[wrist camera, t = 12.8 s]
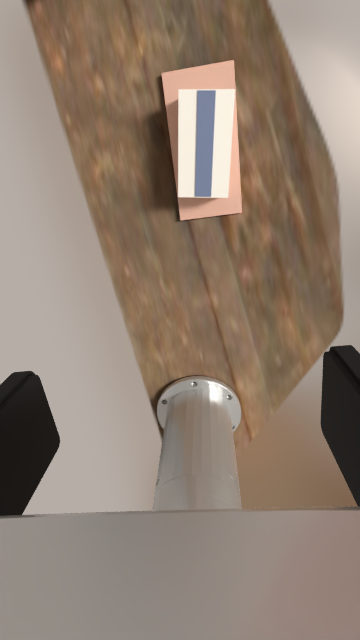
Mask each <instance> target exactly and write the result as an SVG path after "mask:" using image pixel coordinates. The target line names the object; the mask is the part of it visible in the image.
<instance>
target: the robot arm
mask: <svg viewBox="0 0 360 640" xmlns="http://www.w3.org/2000/svg"><path fill="white" fill-rule="evenodd" d="M322 381H323V382H322V404H321V428H322V432H323V435H324V436H325V439H326V441H327V443H328V445H329V447H330V449H331V451H332V453H333V455H334V457H335V459H336V462H337V464H338V466H339V468H340V470H341V472H342V474H343V476H344V478H345V480H346V482H347V484H348V487H349V488H350V491H351V493H352V494H353V497H354V499H355V501H356V503H357V505H358V507H347V506H344V507H341V506H333V507H280V508H279V507H278V508H241V500H240V491H239V483H238V474H237V465H236V456H235V447H234V438H233V432H234V431H235V430H236V428H237V427H238V425H239V422H240V419H241V407H240V403H239V399H238V397H237V396H236V394H235V392H234V391H233V390H232V389H231V388H230V387H229V386H227V385H226V384H225V383H223V382H221V381H219V380H217V379H214V378H210V377H205V376H191V377H185V378H182V379H179V380H177V381H175V382H173V383H172V384H170V385H169V386H168V387H167V388H166V389H165V390H164V391H163V392H162V394H161V396H160V398H159V400H158V405H157V417H158V421H159V423H160V425H161V427H162V428H163V429H164V435H163V441H162V449H161V455H160V462H159V469H158V476H157V482H156V490H155V496H154V503H153V511H130V512H129V511H128V512H127V511H126V512H96V513H64V514H41V515H40V514H37V515H22V513H23V512H24V510H25V508H26V506H27V504H28V503H29V501H30V499H31V497H32V495H33V493H34V492H35V490H36V488H37V486H38V484H39V483H40V481H41V479H42V477H43V475H44V473H45V472H46V470H47V468H48V466H49V464H50V463H51V461H52V459H53V457H54V455H55V453H56V452H57V450H58V448H59V444H60V437H59V434H58V431H57V428H56V425H55V422H54V419H53V416H52V413H51V410H50V407H49V404H48V401H47V398H46V395H45V392H44V389H43V386H42V383H41V380H40V378H39V376H38V375H35V374H34V373H33V372H32V371H24V372H14V373H12V374H11V375H10V376H9V377H8V378H7V379H6V380H5V381H4V382H3V383H2V384H1V385H0V640H360V354H359V353H358V351H356V349H355V348H354V347H353V346H351V345H346V346H334V347H331V348H330V350H329V352H325V353H324V356H323V380H322Z"/></svg>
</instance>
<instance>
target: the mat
mask: <svg viewBox="0 0 360 640" xmlns="http://www.w3.org/2000/svg"><path fill="white" fill-rule="evenodd" d="M162 81H163V89H164V97H165V104H166V112H167V120H168V128H169V135H170V143H171V151H172V158H173V166H174V174H175V182H176V189H177V197H178V89H235V73H234V60H231V61H225V62H220V63H214V64H209V65H204V66H198V67H193V68H187V69H182V70H176V71H171V72H165V73H162ZM178 205H179V212H180V220H189V219H196V218H204V217H212V216H219V215H227V214H235V213H242V204H241V185H240V166H239V148H238V129H237V110H236V92H235V100H234V116H233V131H232V147H231V162H230V178H229V193H228V198H197V197H178Z"/></svg>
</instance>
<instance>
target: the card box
mask: <svg viewBox="0 0 360 640" xmlns="http://www.w3.org/2000/svg"><path fill="white" fill-rule="evenodd" d="M234 100H235V89H178V197H197V198H228V193H229V178H230V162H231V147H232V131H233V116H234Z"/></svg>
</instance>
